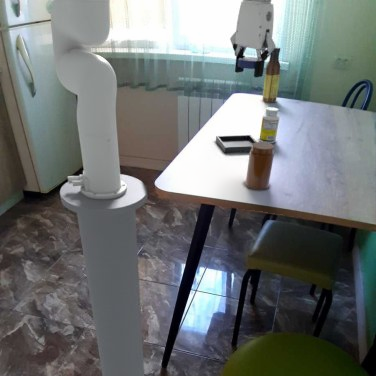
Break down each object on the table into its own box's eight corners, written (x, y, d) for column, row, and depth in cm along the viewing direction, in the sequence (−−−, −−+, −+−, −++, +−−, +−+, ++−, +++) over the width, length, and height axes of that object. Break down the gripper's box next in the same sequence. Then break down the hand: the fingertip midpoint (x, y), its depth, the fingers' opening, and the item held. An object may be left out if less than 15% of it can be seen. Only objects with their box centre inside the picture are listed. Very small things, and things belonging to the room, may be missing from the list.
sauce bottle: (276, 100, 185) (285, 46, 171) (275, 103, 180) (284, 49, 167) (262, 98, 186) (269, 45, 172) (260, 102, 181) (268, 47, 168)
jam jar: (249, 190, 112) (255, 150, 105) (242, 181, 116) (247, 141, 109) (271, 189, 113) (279, 149, 106) (263, 179, 118) (270, 140, 110)
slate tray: (224, 153, 132) (225, 147, 131) (215, 141, 140) (216, 136, 139) (260, 151, 135) (261, 146, 133) (249, 140, 142) (250, 134, 141)
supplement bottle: (264, 137, 145) (269, 105, 138) (278, 141, 143) (283, 108, 136) (256, 141, 142) (260, 108, 135) (270, 145, 140) (275, 112, 133)
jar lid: (248, 63, 123) (249, 56, 121) (266, 67, 119) (267, 60, 118) (232, 65, 119) (233, 58, 118) (250, 69, 115) (250, 62, 114)
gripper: (292, -2, 106) (279, 78, 118) (242, -8, 115) (235, 67, 127) (274, -1, 102) (262, 81, 114) (224, -7, 111) (218, 70, 123)
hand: (248, 73), depth 120 cm, fingers closed on jar lid, 6 cm apart
